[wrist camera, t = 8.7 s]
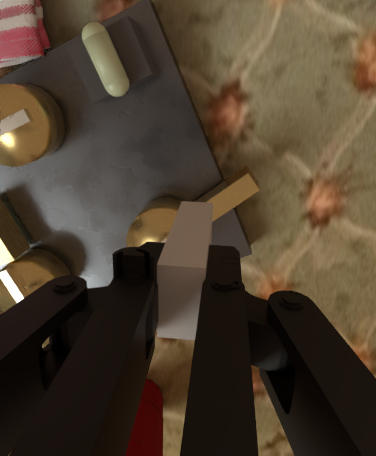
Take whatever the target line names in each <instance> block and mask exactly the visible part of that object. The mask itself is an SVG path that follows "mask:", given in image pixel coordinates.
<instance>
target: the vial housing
mask: <svg viewBox="0 0 376 456" xmlns="http://www.w3.org/2000/svg"><path fill="white" fill-rule="evenodd" d="M67 51H68V53H69V55H70V57H71V59H72V61H73V63H74V65H75V67H76V69H77V71H78V74H79V76H80V78H81V80H82V82H83V84H84V86H85V88H86V90H87V92H88V94H89V96H90V98H91V100H92V102H93V103H97V102H104V101H106V100H108V99H110V98H112V97H114V96H115V97H120V96H123V95H124V94H125V93H126V92H127V91H128V89H130V88H132V87H134V86H136V85H138V84H141V83H143V82H145V81H147V80H149V79H151V78H153V77H155V76H157V75H158V73H157V70H156V68H155V66H154V63H153V61H152V59H151V56H150V54H149V52H148V49H147V47H146V44H145V42H144V40H143V37H142V35H141V33H140V30H139V28H138V25H137V23H136V21H135V20H133V19H132V18H130V17H129V16H125V17H124V18H122V19H120V20H118V21H116V22H114V23H113V24H111V25H109V26H107V27H104V26H103V25H101V24H100V23H97V22H90V23H88V24H86V25H85V26H84V28H83V30H82V40H81V41H79V42H78V43H76V44H74V45H72V46H70V47H68V48H67Z"/></svg>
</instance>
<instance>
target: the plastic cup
mask: <svg viewBox="0 0 376 456" xmlns="http://www.w3.org/2000/svg"><path fill="white" fill-rule="evenodd" d="M125 456H163V397H162V392H161V391H160V389H159V387H158V386H157V385H156V384H155V383H154V382H153V381H151V380H149V379H146V381H145V385H144V389H143V392H142V396H141V400H140V403H139V407H138V411H137V414H136V418H135V422H134V425H133V429H132V433H131V436H130V440H129V444H128V447H127V451H126V455H125Z"/></svg>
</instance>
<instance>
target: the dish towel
mask: <svg viewBox="0 0 376 456" xmlns="http://www.w3.org/2000/svg"><path fill="white" fill-rule="evenodd" d="M50 48H51V45H50V41H49V39H48V36H47V33H46V31H45V28H44V25H43V7H42V4H41V1H40V0H0V68H1V67H6V66H11V65H17V64H22V63H24V62H27V61H29V60H32V59H36V58H38V57H44V56H45V54H44V50H46V49H50Z"/></svg>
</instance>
